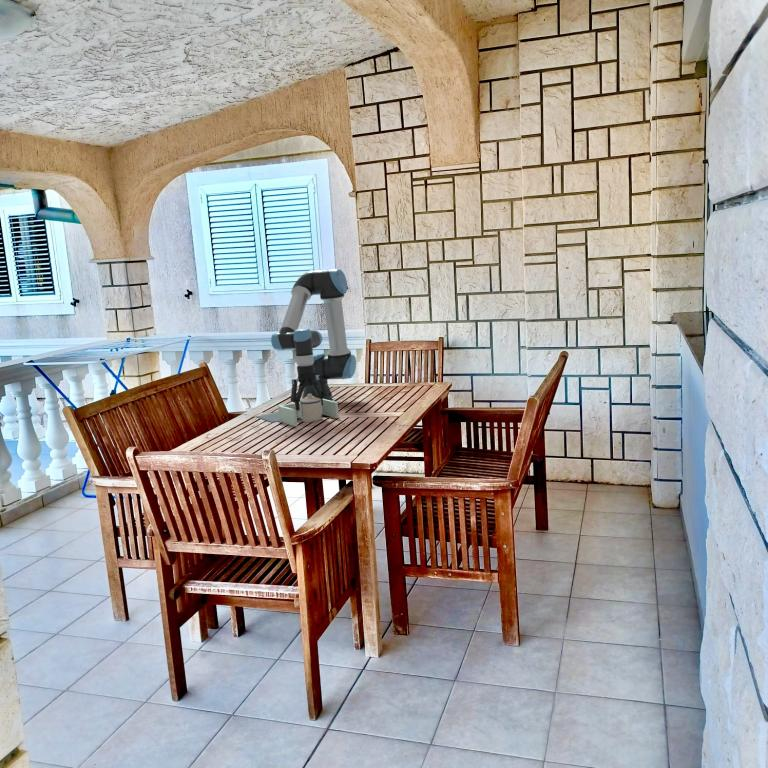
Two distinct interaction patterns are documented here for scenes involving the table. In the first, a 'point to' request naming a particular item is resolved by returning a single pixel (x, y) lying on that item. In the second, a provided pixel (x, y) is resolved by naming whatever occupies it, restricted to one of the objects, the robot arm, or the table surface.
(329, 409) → the bent sage-green plate
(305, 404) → the teacup with lid
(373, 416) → the table surface
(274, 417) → the mat
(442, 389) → the table surface
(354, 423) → the table surface
